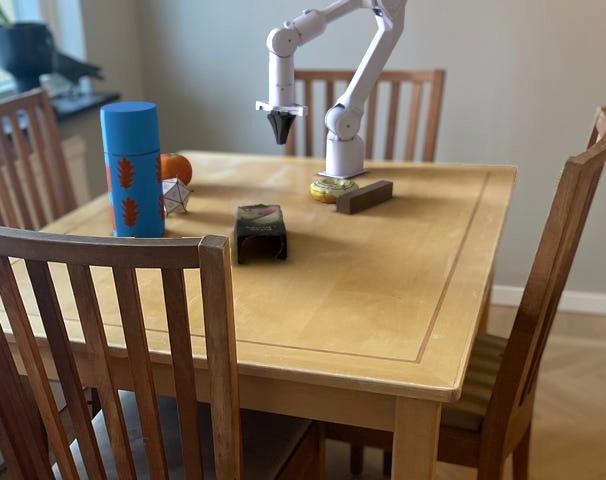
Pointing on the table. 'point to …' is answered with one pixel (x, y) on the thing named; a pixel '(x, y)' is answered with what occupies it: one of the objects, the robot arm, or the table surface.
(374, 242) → the table surface
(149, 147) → the thermos
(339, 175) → the robot arm
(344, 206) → the bar
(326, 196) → the decorated donut
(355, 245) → the table surface
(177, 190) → the game die
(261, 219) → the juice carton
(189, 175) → the fruit
